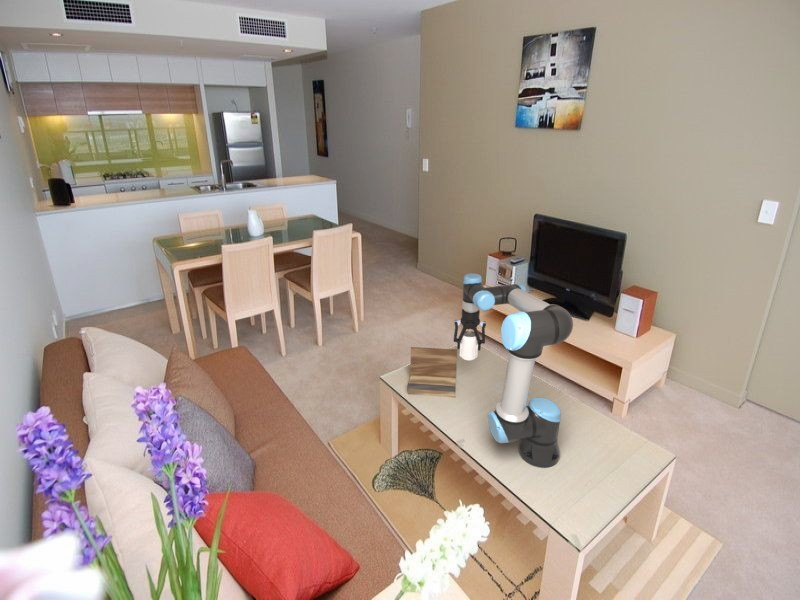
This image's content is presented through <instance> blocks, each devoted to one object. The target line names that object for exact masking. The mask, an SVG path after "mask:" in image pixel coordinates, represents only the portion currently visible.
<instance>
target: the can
mask: <svg viewBox="0 0 800 600" xmlns="http://www.w3.org/2000/svg"><path fill="white" fill-rule="evenodd" d="M461 341H462V351H461V357H460V358H461V359H462V360H464V361H467V362H471V361H474V360H475V359H477V358H476V343H477V339H476V336H475V333H474V331H472V330H466V331H465V333H464V335H463V338H462V340H461Z"/></svg>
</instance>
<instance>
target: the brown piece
mask: <svg viewBox="0 0 800 600" xmlns="http://www.w3.org/2000/svg"><path fill="white" fill-rule="evenodd" d="M457 357H458V349H456V348H441V347H440V348H437V347H436V348H435V347H421V346H419V347H418V346H416V347H415V346H411V347H410V378H409V382H408V383H407V394H408V395H412V396H413V395H416V396H417V395H419V396H433V397H443V398H444V397H447V398H456V390H457V389H456V386H457V384H456V383H457V362H458V359H457Z"/></svg>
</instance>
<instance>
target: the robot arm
mask: <svg viewBox="0 0 800 600" xmlns="http://www.w3.org/2000/svg"><path fill="white" fill-rule="evenodd" d="M482 282H483V281H482V276H481V274H478V273H467V274H465V275H463V282H462V304H461V306H462V307H461V318H460V319H458V320H457V319H455V320H454V326H455V327H454V334H453V343H456V344H457V347H456V348H457V350H459V358H462V357H461V351H462V338H463V335H464V333H465V331H467V330H471V331H472V330H473V332H474V333H475V336H476V339H477V343H476V358H475V359H477V358H478V356H479V353H478V351H481V347H482V346H481V345H482V344H483V345H484V344H485V343H486V334H485V332H486V331H485V329H486V326H487V323H486V320H484V321H482V320H480V310H481V311H489V310H490V309H492V308H493V307H494V306H498V305H499V306H500V305H510V306H512V307H513V308H514V309H516V310H517V311H518V312H516V313H511V314H508V315H507V316H506V317H505V318H504V319H503V321H502V324H501V329H500V335H501V337H500V338H501V342H502V344H503V346H504V348H505V349H506V351H507V352H508V355H509V356H508V359H507V366H506V372H505V378H504V384H503V389H502V394H501V395H502V396H501V400H499V401H498V402H497V404H496V405H495V410H494V411H493V410H492V411H490V412H488V414H487V420H488V421H487V422H488V426H489V430H490V432H491V434H492V437H493V438H494V440H495V441H496V442H497V443H499V444H506V443H507V444H508V443H513V442H518V441H520V442H519V445H518V446H519V447H518V453H519V456H520V458H522V460H523V461H524V462H526V463H527V464H529V465H531V466H533V467H538V468H542V469H543V468H550V467H554V466H556V464H557V463H559V461H560V455H561V451H560V448H559V447H560V446H559V444H558V436H559V430H560V424H561V423H560V422H561V421H562V411H561V409H560V408H561V407H560V406H559V405H557V403H555V401H552V400H550V399H548V398H544V397H533V398H531V399H530V400H529V402H528V397H529V393H530V387H531V382H532V379H533V374H534V369H535V364H536V359H538V358H540V357H541V356H542V353H543V350H544V349H543V348H544V347H547V346H552V345H557V344H561V343H563V342H564V341H566V340H567V339H568V338H569V337H570V335H571V334H572V332H573V329H574V321H573V317H572V316H571V313H570V312H569V311H568V310H567V309H565V308H564V307H562V306H560V305H559V304H553V303H552V304H550V303H548V302H546V301H545V300H542V299H541V298H539V297H536V296H535V295H532V294H530V293H529V292H527V288H526V287H525V286H524V284H521V283H513V284H505V285H497V286H496V285H495V286H489V287H488V286H487V287H485V286H484V285H483V284H482ZM460 324H461V325H462V326H463V327H462V329H461V331H460V334H459V336H458V332H459V331H458V330H459V326H460ZM479 325H480V327H481V337H480V335H479V331H478V326H479ZM527 402H528V405H527Z"/></svg>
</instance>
